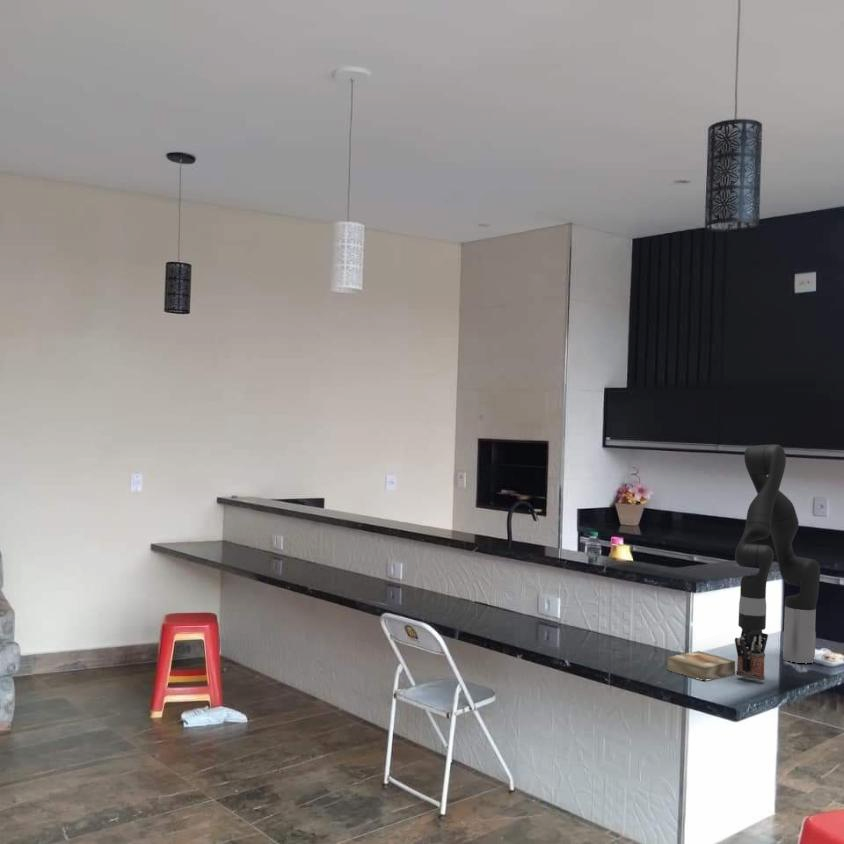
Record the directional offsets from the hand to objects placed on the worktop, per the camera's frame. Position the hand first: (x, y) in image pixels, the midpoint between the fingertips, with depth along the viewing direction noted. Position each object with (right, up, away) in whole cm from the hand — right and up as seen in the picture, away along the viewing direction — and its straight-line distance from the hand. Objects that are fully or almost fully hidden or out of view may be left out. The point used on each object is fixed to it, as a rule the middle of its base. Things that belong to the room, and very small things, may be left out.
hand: (750, 669), depth 262 cm
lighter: (0, -2, 0) cm, 2 cm away
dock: (-12, -3, +7) cm, 14 cm away
